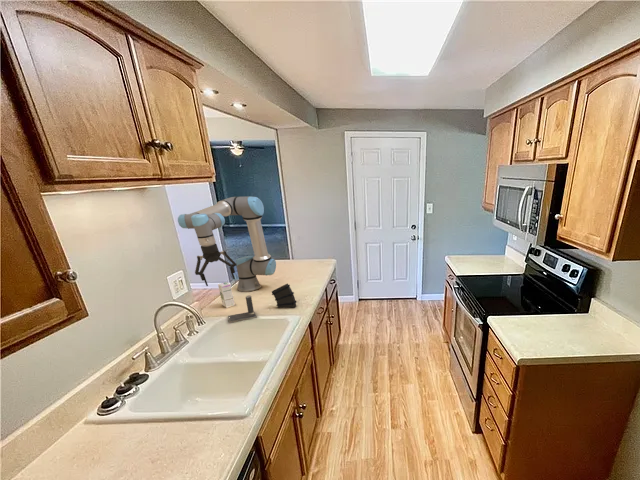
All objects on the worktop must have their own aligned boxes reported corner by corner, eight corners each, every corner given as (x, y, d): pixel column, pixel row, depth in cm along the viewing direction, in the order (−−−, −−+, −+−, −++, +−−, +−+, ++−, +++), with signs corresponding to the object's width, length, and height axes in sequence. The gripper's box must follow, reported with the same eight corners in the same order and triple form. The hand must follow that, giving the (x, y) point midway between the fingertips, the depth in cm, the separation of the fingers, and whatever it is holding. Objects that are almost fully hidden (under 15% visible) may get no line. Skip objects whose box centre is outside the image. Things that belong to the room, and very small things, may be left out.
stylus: (248, 313, 191) (245, 295, 187) (253, 312, 192) (250, 294, 189) (248, 315, 188) (245, 297, 185) (254, 314, 190) (251, 296, 186)
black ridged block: (299, 305, 201) (286, 284, 196) (281, 314, 203) (268, 293, 199) (301, 303, 205) (288, 282, 200) (283, 311, 207) (270, 291, 202)
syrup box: (235, 305, 206) (231, 283, 201) (225, 308, 202) (221, 285, 197) (231, 303, 210) (227, 281, 205) (222, 305, 206) (217, 283, 201)
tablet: (228, 317, 189) (227, 315, 188) (254, 312, 195) (253, 310, 195) (229, 323, 182) (229, 321, 181) (256, 317, 188) (256, 315, 188)
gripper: (181, 251, 162) (196, 290, 172) (235, 240, 175) (245, 277, 184) (180, 248, 168) (194, 286, 177) (232, 238, 180) (243, 274, 189)
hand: (220, 282), depth 181 cm, fingers open, 13 cm apart
